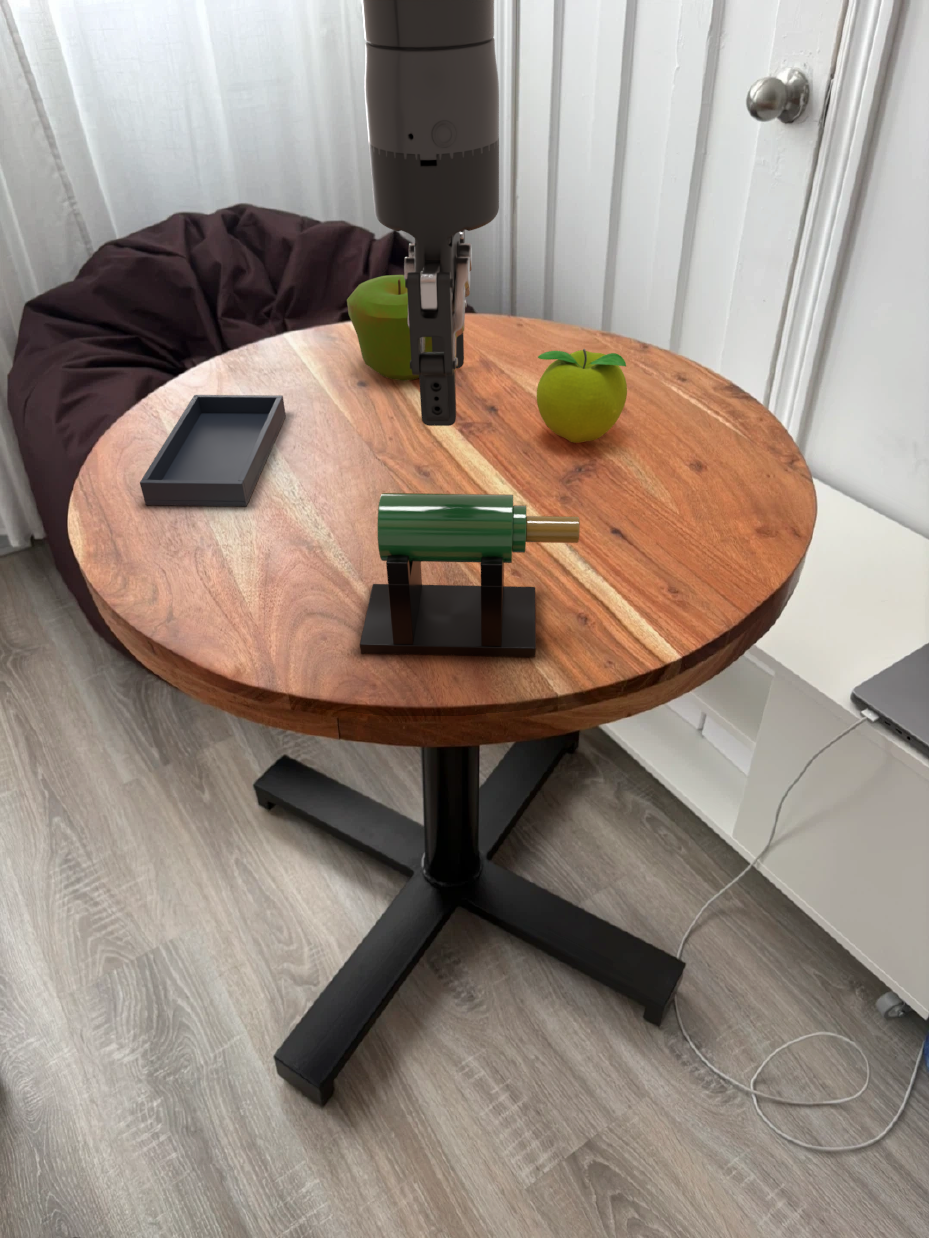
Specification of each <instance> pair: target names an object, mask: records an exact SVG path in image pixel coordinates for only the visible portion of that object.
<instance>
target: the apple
mask: <svg viewBox="0 0 929 1238" xmlns="http://www.w3.org/2000/svg"><path fill="white" fill-rule="evenodd" d="M346 305H347V312H348V316H349V320H350V321H351V325H352V326H353V328H354V331H355V334H356V336H357V341H358V344H359V345H358V346H359V349H360V353H361V358H362V360H363V362H364V364H365V366H367V367H368V368H370V369H371V370H373V371H375V372H376V373H377V374H379V375H381V376H382V377H383V378H387V379H390V380H393V381H394V380H395V381H403V382H404V381H415V380H418V379H419V375H412V369H410V360H411V346H410V328H409V326H408V292H407V288H406V287H405V279H404V274H391V275H390V274H389V275H381V276H378V277H374V278H371V279H368V280H366V281H363V282H361V283H359V284H358V286H357V287H356V288H355V289H354V291H352V293H351V294H350V295H349V297H347V299H346ZM425 352H432V337H426V338H425Z"/></svg>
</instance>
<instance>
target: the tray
mask: <svg viewBox="0 0 929 1238" xmlns="http://www.w3.org/2000/svg"><path fill="white" fill-rule="evenodd" d="M286 417H287V413H286V408H285V402H284V396H283V395H281V394H280V395H279V394H278V395H277V394H276V395H275V394H274V395H272V394H271V395H270V394H268V395H267V394H266V395H265V394H193V396H192V397H191V399H190V401H189V403H188V404H187V405H186V407H185V409H184V410H183V412H182V413H181V415H180V417H179V419H178V420H177V422H176V423H175V425H174V427H173V428H172V430H171V431H170V433H169V435H168V436H167V438H166V440H165V441H164V443H163V444H162V446H161V447H160V449H159V450H158V452H157V454H156V455H155V457H154V459H153V460H152V462H151V464H150V465H149V466H148V468H147V470H146V471H145V473H144V475H143V476H142V477H141V480H140V481H139V485H140V489H141V493H142V496H143V500H144V503H145V506H188V507H189V506H190V507H192V506H194V507H195V506H197V507H198V506H200V507H247V506H248V504H249V502H250V500H251V498H252V495H253V493H254V490H255V487H256V485H257V483H258V481H259V479H260V476H261V475H262V472H263V470H264V467H265V465H266V463H267V460H268V458H269V456H270V454H271V451H272V449H273V447H274V444H275V442H276V440H277V437H278V436H279V433H280V431H281V428H282V426H283V424H284V421H285V419H286Z"/></svg>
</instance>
